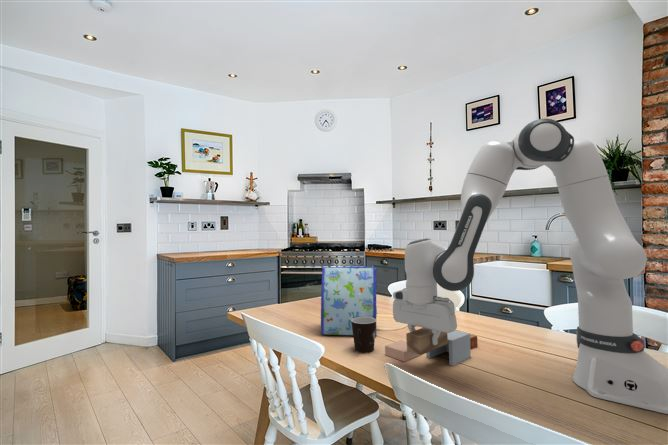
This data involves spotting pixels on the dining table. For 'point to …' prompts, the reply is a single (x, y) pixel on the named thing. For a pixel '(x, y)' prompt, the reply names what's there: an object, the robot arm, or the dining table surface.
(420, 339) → the block
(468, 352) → the grey tunnel block
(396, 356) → the stand
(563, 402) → the dining table surface
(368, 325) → the coffee mug
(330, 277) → the lunch bag
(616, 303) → the robot arm
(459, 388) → the dining table surface
